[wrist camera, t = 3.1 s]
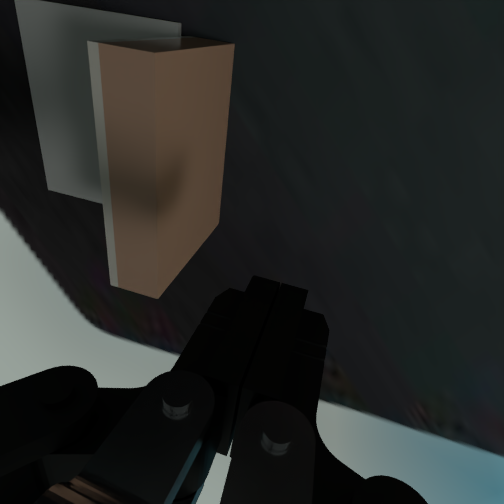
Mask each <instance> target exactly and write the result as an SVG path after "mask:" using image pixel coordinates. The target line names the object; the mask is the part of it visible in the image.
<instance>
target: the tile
mask: <svg viewBox="0 0 504 504" xmlns="http://www.w3.org/2000/svg"><path fill="white" fill-rule="evenodd" d="M87 45H88V55H89V66H90V76H91V87H92V97H93V107H94V118H95V128H96V138H97V149H98V159H99V169H100V180H101V190H102V200H103V211H104V221H105V231H106V242H107V252H108V262H109V273H110V283H111V285H113V286H116V287H119V288H123V289H126V290H129V291H133V292H136V293H140V294H143V295H146V296H150V297H153V298H156V299H158V298H159V297H160V296H161V294H162V293H163V292H164V291H165V289H166V288H167V287H168V286H169V284H170V283H171V282H172V281H173V279H174V278H175V277H176V276H177V274H178V273H179V272H180V271H181V270H182V268H183V267H184V266H185V265H186V263H187V262H188V261H189V260H190V258H191V257H192V256H193V255H194V253H195V252H196V251H197V250H198V249H199V247H200V246H201V245H202V244H203V242H204V241H205V240H206V239H207V237H208V236H209V235H210V234H211V232H212V231H213V230H214V229H215V227H216V226H217V225H218V224H219V213H220V202H221V191H222V180H223V168H224V157H225V146H226V135H227V123H228V112H229V101H230V90H231V78H232V67H233V56H234V45H235V44H233V43H227V42H221V41H215V40H209V39H203V38H197V37H192V36H179V37H158V38H136V39H115V40H93V41H87Z"/></svg>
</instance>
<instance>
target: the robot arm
mask: <svg viewBox="0 0 504 504" xmlns="http://www.w3.org/2000/svg"><path fill="white" fill-rule="evenodd" d="M279 287H280V289H279ZM307 294H308V290H306V289H302V288H298V287H295V286H291V285H288V284H284V283H282V284H281V286H280V282H276V281H273V280H269V279H265V278H262V277H258V276H255V275H254V276H253V277H252V279H251V281H250V283H249V285H248V287H247V289H246V291H245V292H242V291H239V290H235V289H232V288H229V289H228V290H226V291H224V292H223V293H221V294H220V295H218V296H217V297H215V299H214V301H213V302H212V304H211V306H210V307H209V309H208V311H207V313H206V314H205V315H204V317H203V319H202V320H201V323H200V324H199V325H198V327H197V329H196V330H195V332H194V334H193V335H192V337H191V339H190V340H189V342H188V343H187V345H186V347H185V348H184V350H183V352H182V353H181V355H180V357H179V358H178V360H177V362H176V363H175V365H174V367H173V368H172V369H171V371H169V372H166V373H163V374H161V375H159V376H157V377H155V378H154V379H153V380H152V381H150V382H149V383H148V384H147V386H144V387H139V388H98V385H97V382H96V379H95V378H94V376H93V375H92V374H91V373H90V372H89V371H87V370H85V369H83V368H81V367H76V366H59V367H54V368H51V369H47V370H44V371H42V372H39V373H36V374H33V375H30V376H28V377H25V378H22V379H19V380H16V381H14V382H11V383H8V384H5V385H2V386H0V504H196V502H197V500H198V497H199V495H200V493H201V491H202V489H203V486H204V482H205V479H206V478H207V475H208V473H209V470H210V468H211V465H212V462H213V459H214V457H215V454H216V452H217V453H220V454H222V455H225V456H227V454H228V451H229V448H230V445H231V442H232V440H233V442H232V447H231V452H230V457H231V462H230V466H229V470H228V474H227V478H226V482H225V485H224V489H223V493H222V497H221V502H220V504H428V503H427V502H426V501H425V499H424V498H423V497H422V496H421V495H420V494H419V493H418V492H417V491H416V490H414V489H413V488H412V487H411V486H409V485H407V484H406V483H404V482H403V481H400V480H398V479H396V478H393V477H389V476H382V475H380V476H373V477H369V478H367V479H364V478H363V477H361V476H360V475H359V474H357V473H356V472H354V471H353V470H352V469H350V468H349V467H347V466H346V465H345V464H343V463H342V462H341V461H339V460H338V459H337V458H335V456H334V455H332V453H331V452H329V450H328V449H327V447H326V446H325V444H324V443H323V441H322V439H321V437H320V435H319V432H318V429H317V424H316V413H317V407H318V400H319V394H320V387H321V381H322V374H323V368H324V360H325V355H326V347H327V342H328V336H329V328H328V325H327V323H326V320H325V318H324V315H323V314H320V313H316V312H313V311H309V310H306V309H304V305H305V301H306V297H307Z"/></svg>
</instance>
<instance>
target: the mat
mask: <svg viewBox="0 0 504 504" xmlns="http://www.w3.org/2000/svg"><path fill="white" fill-rule="evenodd" d="M15 6H16V12H17V17H18V23H19V28H20V34H21V40H22V45H23V51H24V56H25V62H26V68H27V73H28V79H29V84H30V90H31V96H32V101H33V107H34V113H35V118H36V124H37V129H38V135H39V141H40V146H41V152H42V157H43V163H44V169H45V174H46V180H47V185H48V190H52V191H56V192H59V193H63V194H67V195H71V196H75V197H79V198H83V199H86V200H90V201H94V202H98V203H102V204H103V200H102V190H101V180H100V169H99V159H98V149H97V138H96V128H95V118H94V107H93V97H92V87H91V76H90V66H89V55H88V45H87V41H93V40H115V39H136V38H158V37H179V36H181V23H177V22H171V21H165V20H159V19H152V18H146V17H140V16H134V15H128V14H122V13H115V12H109V11H103V10H97V9H91V8H85V7H78V6H72V5H66V4H60V3H54V2H48V1H41V0H15Z"/></svg>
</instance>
